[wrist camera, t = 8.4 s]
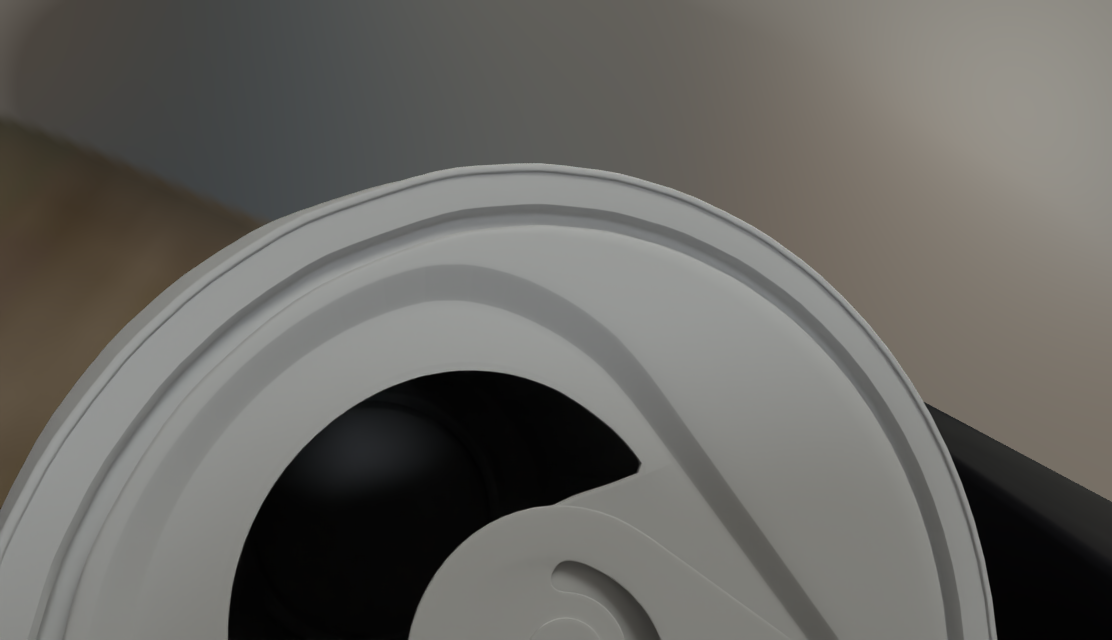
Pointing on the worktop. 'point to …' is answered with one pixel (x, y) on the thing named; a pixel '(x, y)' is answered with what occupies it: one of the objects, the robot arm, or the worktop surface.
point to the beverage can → (495, 438)
